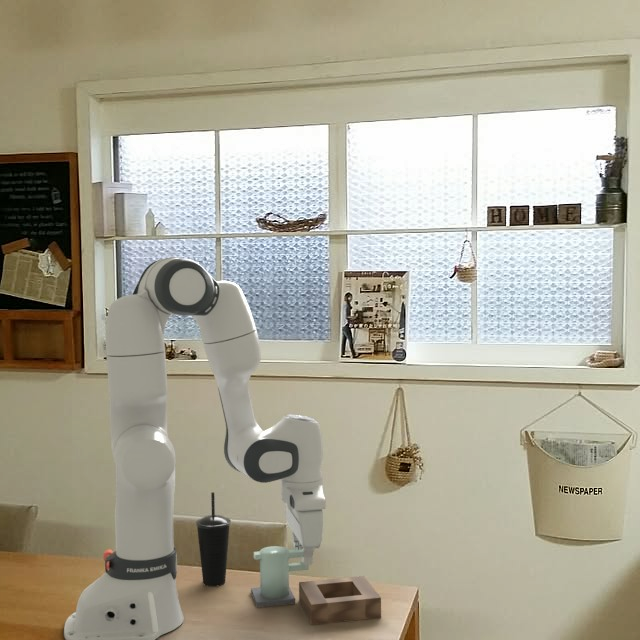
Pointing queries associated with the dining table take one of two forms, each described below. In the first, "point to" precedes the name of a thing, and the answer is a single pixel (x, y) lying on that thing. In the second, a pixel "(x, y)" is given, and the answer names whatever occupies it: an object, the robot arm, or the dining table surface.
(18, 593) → the dining table surface
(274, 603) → the mat
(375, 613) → the stand
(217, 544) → the drinking cup
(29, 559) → the dining table surface
